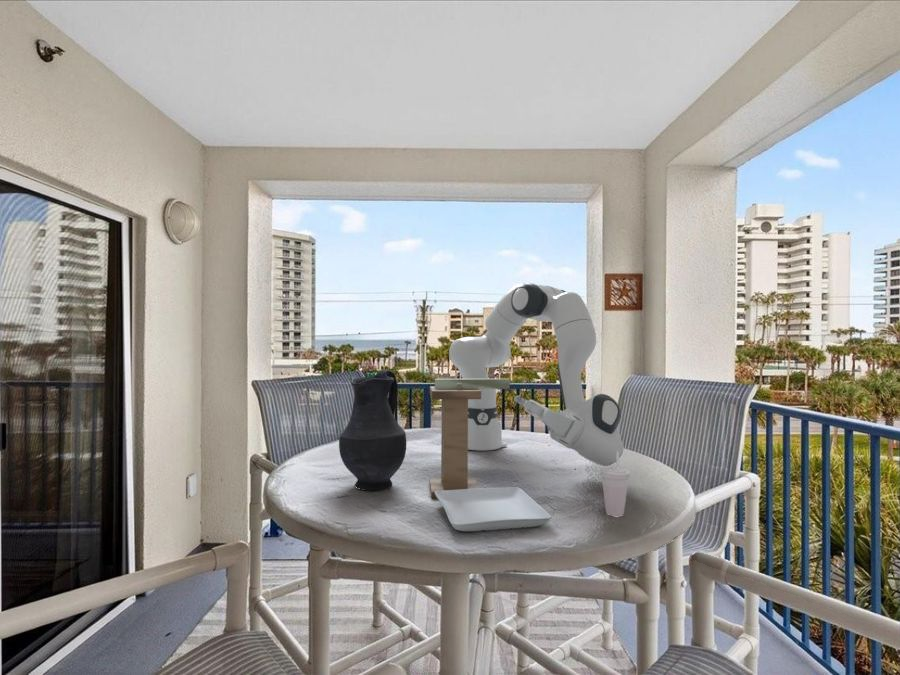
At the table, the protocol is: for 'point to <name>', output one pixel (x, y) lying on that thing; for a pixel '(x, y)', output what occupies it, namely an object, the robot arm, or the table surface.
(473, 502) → the salad plate
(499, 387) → the bar
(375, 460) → the pitcher
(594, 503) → the table surface
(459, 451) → the shelf stand
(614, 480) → the smoothie
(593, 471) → the table surface
